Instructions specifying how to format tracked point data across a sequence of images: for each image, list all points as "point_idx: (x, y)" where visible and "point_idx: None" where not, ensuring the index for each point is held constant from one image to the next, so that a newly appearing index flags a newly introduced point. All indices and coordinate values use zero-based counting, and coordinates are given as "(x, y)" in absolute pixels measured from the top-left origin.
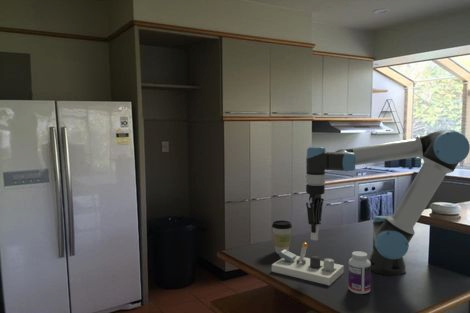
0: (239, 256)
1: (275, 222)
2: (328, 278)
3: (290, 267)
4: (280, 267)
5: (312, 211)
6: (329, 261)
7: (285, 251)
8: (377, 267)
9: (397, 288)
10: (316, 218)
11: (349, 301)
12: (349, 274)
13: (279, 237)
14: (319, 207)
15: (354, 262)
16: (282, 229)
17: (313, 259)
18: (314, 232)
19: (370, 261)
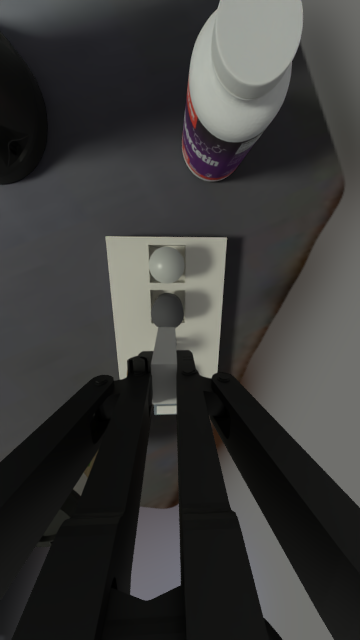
0: (171, 475)
1: (53, 539)
2: (226, 241)
3: (209, 357)
4: None
5: (347, 498)
6: (176, 259)
7: (166, 406)
8: (34, 120)
9: (129, 21)
10: (187, 401)
11: (292, 152)
12: (248, 150)
13: (91, 467)
14: (117, 527)
15: (285, 83)
16: (75, 491)
17: (183, 313)
18: (190, 351)
19: (5, 158)
